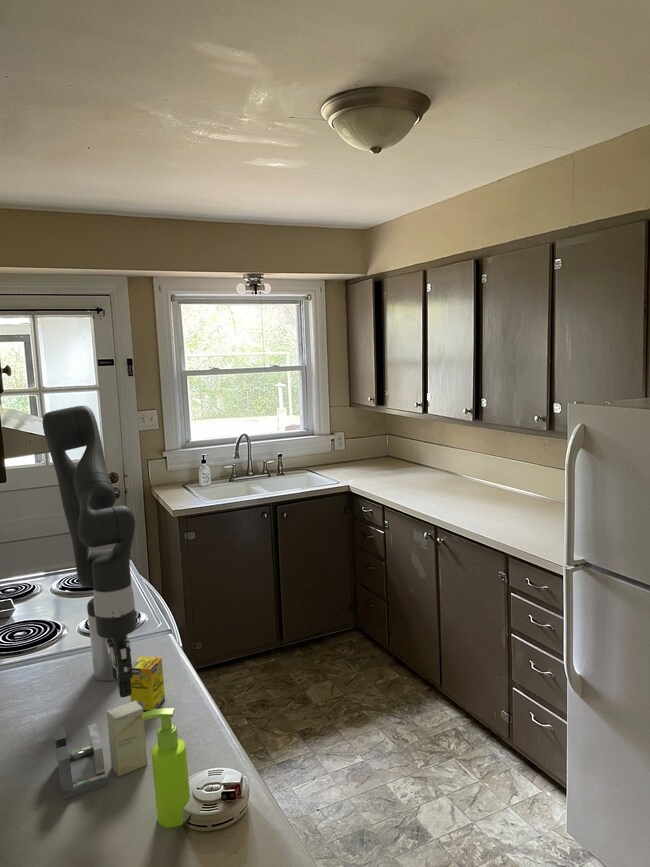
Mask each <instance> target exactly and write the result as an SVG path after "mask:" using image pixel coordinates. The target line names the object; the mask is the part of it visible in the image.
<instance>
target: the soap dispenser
mask: <svg viewBox="0 0 650 867" xmlns="http://www.w3.org/2000/svg"><path fill="white" fill-rule="evenodd" d="M174 713H175V708H174V707H173V708H172V707H169V708H168V707H165V708H158V709H154V710H150V711H147V712H143V716H142V718H141V719H142V720H144V721H146V720H150V719H158V718H159V719H160V723H161V724H160V726H159V727H158V728H157V731H156V732H157V733H156V735H157V743H155V744H154V745H153V746H152V748H151V750H150V753H151V763H152V771H153V772H152V775H153V782H154V783H153V784H154V793H155V794H154V795H155V804H156V816H157V818H156V819H157V822H158V824H159V825H160V826H161V827H164V828H167V829H169V828H171V829H172V828H177V827H180V826H181V825H184V824H183V809H184V807H185V806H186V804H187V803H188V801H189V798H190V799H191V794H190V793H191V792H190V781H189V780H190V779H189V770H188V768H189V767H188V759H187V757H188V755H187V747H186V746H187V745H186V742H185V741H184V740H183V739H182V738H179V737H178V728H177V725H176V724H174V723H172V718H173V717H174Z"/></svg>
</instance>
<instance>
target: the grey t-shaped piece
mask: <svg viewBox="0 0 650 867" xmlns="http://www.w3.org/2000/svg"><path fill="white" fill-rule="evenodd" d="M87 727H88V737H89V744H90V745H89V746H90V747H91V748H90V749H87V750H84V751H80V752H77V753H74V754H70V755H69V756H70V762H73V761H77V760H80V759H83V758H86V757H90V756H92V759H93V763H94V768H95V772H96V776H99V775H102V774H106V772H105V771H106V770H105V761H104V753H103V751H104V750H103V749H104V748H103V745H102V742H101V737H100V734H99V731H98V726H97V723H93V724H90V725H88V726H87Z"/></svg>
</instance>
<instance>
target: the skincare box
mask: <svg viewBox="0 0 650 867" xmlns="http://www.w3.org/2000/svg"><path fill="white" fill-rule="evenodd" d="M143 713H144V712H143V708H142V707H141V705H140V704H139V703H138V702H137V701H136V700H135V701H132V702H131V701H130V702H127V703H123V704H121V705H118V706H115V707H112V708H110V709H107V710H106V719H107V728H108V729H107V731H108V742H109V743H108V744H109V752H110V766H111V768H112V770H113V771H114V773H115V775H116V776H117V777H121V776H122V775H125V774H128V773H130V772H132V771H135V770H137V769H140V768H142V767H145V766H147V765H148V757H147V745H146V742H147V741H146V731H145V720H142V719H141V718H142V716H143Z"/></svg>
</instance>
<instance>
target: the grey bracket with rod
mask: <svg viewBox="0 0 650 867" xmlns="http://www.w3.org/2000/svg"><path fill="white" fill-rule="evenodd" d="M65 728H66V727H65V726H60V727H56V728H53V734H54V744H55V752H56V762H57V769H58V777H59V784H60V791H61V800H66V799H69V798H72V797H76V796H79V795H81V794H85V793H87V792H91V791H93V790H97V789H99V788H103V787H105V786H107V785H108V782H107V781H108V780H107V775H106V774H107V773H105V774H102V775H99V776H96V772H95V768H94V763H93V759H92V756H90V757H86V758H83V759H80V760H77V761H73V762H70V756H69V755H70V754H74V753H77V752H80V751H84V750H87V749H90V748H91V747H90V745H89V746H87V747H86V746H85V747H82V748H79V749H75V750H72V751H71V752H69V746H68V741H67V733H66V729H65Z"/></svg>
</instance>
